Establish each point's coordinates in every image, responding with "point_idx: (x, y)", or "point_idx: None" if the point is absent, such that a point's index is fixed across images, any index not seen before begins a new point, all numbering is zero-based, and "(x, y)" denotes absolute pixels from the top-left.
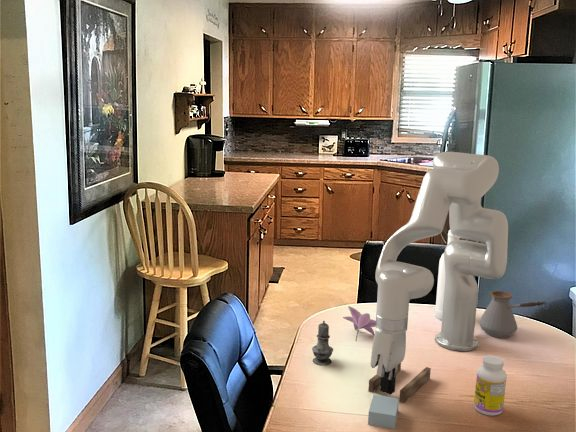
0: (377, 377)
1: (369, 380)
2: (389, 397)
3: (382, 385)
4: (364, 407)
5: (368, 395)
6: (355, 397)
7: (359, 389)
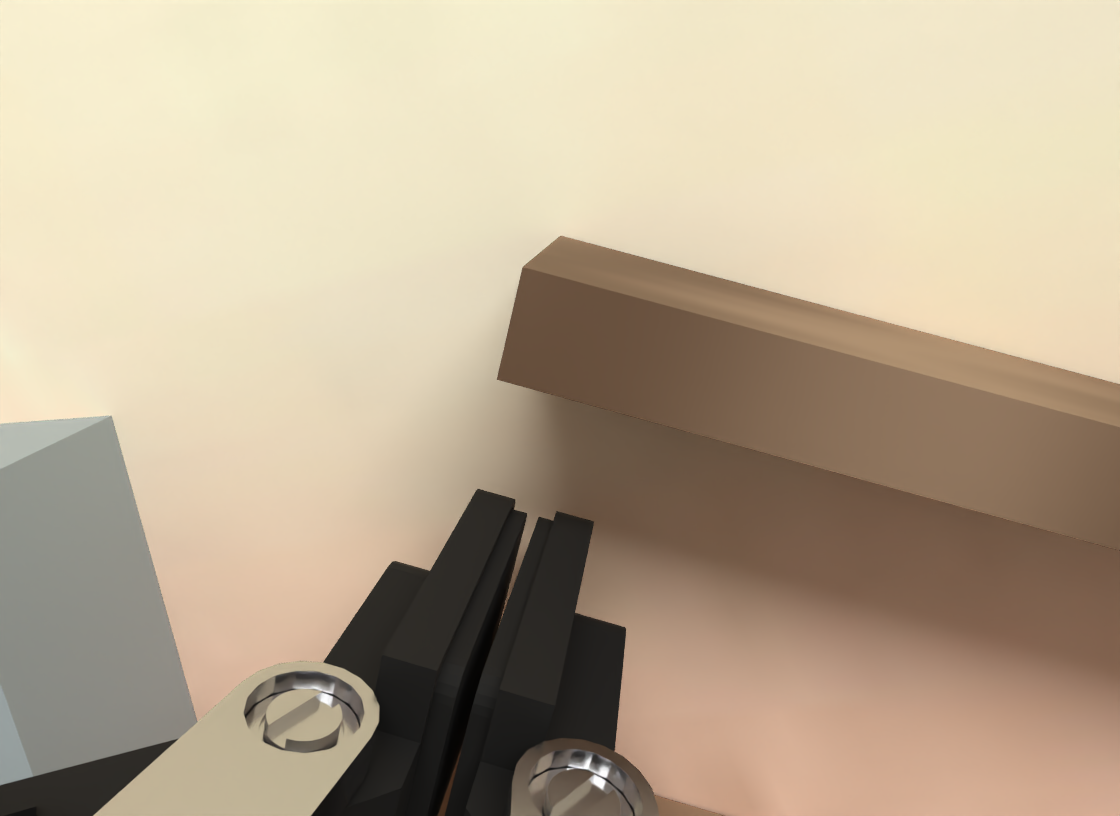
0: (740, 428)
1: (521, 276)
2: (13, 768)
3: (366, 604)
4: (24, 303)
5: (411, 273)
6: (231, 67)
7: (554, 49)
